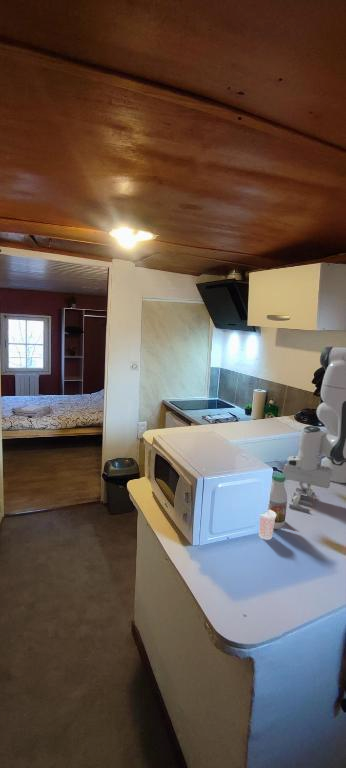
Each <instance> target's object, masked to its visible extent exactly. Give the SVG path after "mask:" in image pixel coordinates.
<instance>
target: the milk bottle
mask: <svg viewBox="0 0 346 768" xmlns="http://www.w3.org/2000/svg"><path fill="white" fill-rule="evenodd" d="M282 474H283V473H278V472H277V473H273V475H272V479H271V480H272V483H271V486H270V487H271V493H270V503H269V510H272V511H274V512H275V513H276V518H275V522H274V528H273V530H274V529H275V530H280V529H283V528H284V526H285V523H286V516H287V504H288V494H287V491H286V487H285V482H286V479H285V476H284V475H282Z"/></svg>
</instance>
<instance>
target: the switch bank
mask: <svg viewBox="0 0 346 768" xmlns="http://www.w3.org/2000/svg"><path fill="white" fill-rule="evenodd" d="M298 490H300V491H301V487H300V488H298V487H296V490H295V492H294V494H293V497H291V503H292V504H291V503H289V506H288V508H289V509H293V510H295V511H300V512H303V513H304V512H305V513H308V514H310V512H311V511H312V508H311V507H312V502H313V501H314V500H315V497H316V496H315V494H316V492H315V491H313V492H312V497H309V496H307V493H305V492H301V499H304V500H301V499H300V500H299V503H298V506H296V505H293V498H294V496H295V493H296V491H298ZM302 493H303V494H302ZM306 500H308V501H306ZM309 501H311V502H309ZM299 505H302V506H299ZM303 506H305V507H303ZM307 507H308V508H307Z"/></svg>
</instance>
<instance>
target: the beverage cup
mask: <svg viewBox="0 0 346 768" xmlns="http://www.w3.org/2000/svg"><path fill="white" fill-rule="evenodd" d="M269 503H270V500H269ZM267 510H268V511H267V512H266V513H265V514H260V515H259V516H261V518H260V528H259V527H258V536H259V537H260V539H262V540H265V541H268V540H271V539H272V538H273V532H274V529H273V528H274V522H275V518H276V513H275V512H274V511H272V510H269V504H268V509H267Z"/></svg>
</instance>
